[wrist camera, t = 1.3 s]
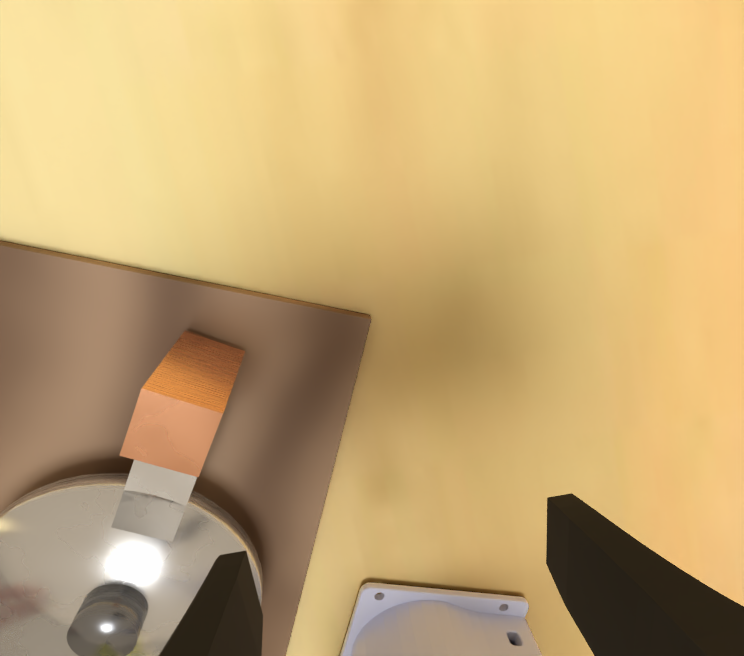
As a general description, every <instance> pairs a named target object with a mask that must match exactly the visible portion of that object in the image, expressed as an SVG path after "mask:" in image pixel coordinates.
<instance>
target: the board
mask: <svg viewBox="0 0 744 656" xmlns="http://www.w3.org/2000/svg"><path fill="white" fill-rule="evenodd" d="M370 323H371V317H370V315H367V314H363V313H358V312H353V311H348V310H343V309H338V308H333V307H328V306H323V305H318V304H313V303H308V302H303V301H298V300H293V299H288V298H283V297H278V296H273V295H268V294H263V293H258V292H253V291H248V290H243V289H238V288H233V287H228V286H223V285H218V284H213V283H208V282H203V281H198V280H193V279H188V278H183V277H178V276H174V275H169V274H164V273H159V272H154V271H149V270H144V269H139V268H134V267H129V266H124V265H119V264H114V263H109V262H104V261H99V260H94V259H89V258H84V257H79V256H74V255H69V254H64V253H59V252H54V251H49V250H44V249H39V248H34V247H29V246H24V245H19V244H14V243H9V242H4V241H0V513H1V512H3V511H4V510H5V509H6V508H7V507H8V506H9V505H10V504H12V503H13V502H15V501H16V500H18V499H19V498H21V497H22V496H24V495H25V494H27V493H29V492H31V491H33V490H36V489H38V488H40V487H42V486H44V485H47V484H50V483H53V482H56V481H59V480H62V479H66V478H71V477H76V476H80V475H88V474H98V473H127V474H129V473H130V470H131V467H132V464H133V461H134V459H130V458H126V457H123V456H119V455H120V452H121V449H122V446H123V443H124V440H125V437H126V434H127V431H128V428H129V425H130V422H131V419H132V416H133V413H134V410H135V407H136V403H137V400H138V397H139V394H140V391H141V388H142V387H143V386H144V384H145V383H146V382H147V380H148V379H149V378H150V376H151V375H152V374H153V372H154V371H155V370H156V368H157V367H158V366H159V364H160V363H161V362H162V360H163V359H164V358H165V356H166V355H167V354H168V352H169V351H170V350H171V348H172V347H173V346H174V344H175V343H176V342H177V340H178V339H179V338H180V336H181V335H182V334H183V332H184V331H185V330H186V331H189V332H191V333H194V334H197V335H200V336H203V337H206V338H209V339H212V340H215V341H217V342H220V343H223V344H226V345H229V346H232V347H235V348H238V349H241V350H243V351H245V353H244V356H243V359H242V362H241V365H240V367H239V370H238V373H237V376H236V379H235V382H234V384H233V387H232V390H231V393H230V396H229V398H228V401H227V404H226V407H225V410H224V413H223V415H222V418H221V420H220V423H219V426H218V428H217V431H216V433H215V436H214V439H213V441H212V444H211V446H210V449H209V451H208V454H207V457H206V459H205V462H204V464H203V467H202V470H201V472H200V475H199V477H197V479H196V482H195V484H194V487H193V491H195V492H197V493H200V494H201V495H203V496H205V497H206V498H208V499H210V500H211V501H213V502H215V503H216V504H217V505H219V506H220V507H221V508H222V509H224V510H225V511H226V512H228V513H229V514H230V515H231V516H232V517H233V518H234V519H235V520H236V521H237V522H238V523H239V524H240V525H241V527H242V528H243V529H244V531H245V532H246V534H247V535H248V536H249V538H250V539H251V541H252V543H253V545H254V547H255V549H256V551H257V554H258V557H259V560H260V563H261V568H262V574H263V592H262V601H261V609H262V613H263V634H262V656H286V652H287V648H288V644H289V640H290V636H291V632H292V628H293V624H294V620H295V616H296V613H297V609H298V605H299V601H300V597H301V593H302V589H303V585H304V581H305V577H306V573H307V569H308V566H309V562H310V558H311V554H312V550H313V546H314V542H315V538H316V534H317V530H318V526H319V522H320V519H321V515H322V511H323V507H324V503H325V499H326V495H327V491H328V487H329V483H330V479H331V475H332V472H333V468H334V464H335V460H336V456H337V452H338V448H339V444H340V440H341V436H342V432H343V428H344V425H345V421H346V417H347V413H348V409H349V405H350V401H351V397H352V393H353V389H354V385H355V381H356V378H357V374H358V370H359V366H360V362H361V358H362V354H363V350H364V346H365V342H366V338H367V334H368V331H369V327H370Z"/></svg>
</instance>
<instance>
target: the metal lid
mask: <svg viewBox="0 0 744 656" xmlns="http://www.w3.org/2000/svg"><path fill="white" fill-rule="evenodd" d="M244 353H245V351H243V350H241V349H238V348H235V347H232V346H229V345H226V344H223V343H220V342H217V341H215V340H212V339H209V338H206V337H203V336H200V335H197V334H194V333H191V332H189V331H186V330H185V331H184V332H183V334H182V335H181V336H180V338H179V339H178V340H177V342H176V343H175V344H174V346H173V347H172V348H171V350H170V351H169V352H168V354H167V355H166V356H165V358H164V359H163V360H162V362H161V363H160V364H159V366H158V367H157V368H156V370H155V371H154V372H153V374H152V375H151V376H150V378H149V379H148V380H147V382H146V383H145V384H144V386H143V387H142V388H141V391H140V394H139V397H138V400H137V403H136V407H135V410H134V413H133V416H132V419H131V422H130V425H129V428H128V431H127V434H126V437H125V440H124V443H123V446H122V449H121V452H120V455H119V456H123V457H126V458H130V459H134V461H133V464H132V467H131V470H130V473H129V474H127V473H98V474H88V475H80V476H76V477H71V478H66V479H62V480H59V481H56V482H53V483H50V484H47V485H44V486H42V487H40V488H38V489H36V490H33V491H31V492H29V493H27V494H25V495H24V496H22V497H21V498H19V499H18V500H16V501H15V502H13V503H12V504H10V505H9V506H8V507H7V508H6V509H5V510H4V511H3V512H1V513H0V656H159V654H160V652H161V651H162V649H163V648H164V646H165V645H166V643H167V642H168V640H169V638H170V637H171V635H172V634H173V632H174V630H175V629H176V627H177V625H178V624H179V622H180V621H181V619H182V617H183V616H184V614H185V613H186V611H187V609H188V607H189V606H190V604H191V602H192V601H193V599H194V597H195V596H196V594H197V592H198V590H199V589H200V587H201V585H202V583H203V582H204V580H205V578H206V576H207V575H208V573H209V571H210V569H211V567H212V566H213V564H214V562H215V560H216V559H217V558H218V556H219V555H223V554H229V553H234V552H240V551H247V555H248V559H249V563H250V567H251V571H252V575H253V578H254V582H255V586H256V590H257V594H258V598H259V602H260V605H261V601H262V592H263V574H262V568H261V563H260V560H259V557H258V554H257V551H256V549H255V547H254V545H253V543H252V541H251V539H250V538H249V536H248V535H247V534H246V532H245V531H244V529H243V528H242V527H241V525H240V524H239V523H238V522H237V521H236V520H235V519H234V518H233V517H232V516H231V515H230V514H229V513H228V512H226V511H225V510H224V509H222V508H221V507H220V506H219V505H217V504H216V503H215V502H213V501H211V500H210V499H208V498H206V497H205V496H203V495H201V494H200V493H197V492H195V491H193V487H194V484H195V482H196V479H197V477H199V475H200V472H201V470H202V467H203V464H204V462H205V459H206V457H207V454H208V451H209V449H210V446H211V444H212V441H213V439H214V436H215V433H216V431H217V428H218V426H219V423H220V420H221V418H222V415H223V413H224V410H225V407H226V404H227V401H228V398H229V396H230V393H231V390H232V387H233V384H234V382H235V379H236V376H237V373H238V370H239V367H240V365H241V362H242V359H243V356H244Z"/></svg>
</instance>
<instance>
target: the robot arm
mask: <svg viewBox="0 0 744 656" xmlns="http://www.w3.org/2000/svg"><path fill="white" fill-rule="evenodd" d="M546 564H547V566H548V568H549V570H550V573H551V575H552V577H553V579H554V582H555V584H556V586H557V588H558V591H559V593H560V595H561V597H562V599H563V601H564V603H565V606H566V607H567V609H568V611H569V613H570V614H571V616H572V618H573V620H574V621H575V623H576V625H577V626H578V628H579V630H580V632H581V633H582V635H583V637H584V638H585V640H586V642H587V643H588V645H589V647H590V648H591V650H592V652H593V654H594V655H595V656H744V607H743V606H741V605H740V604H738V603H736V602H734V601H732V600H730V599H729V598H727V597H725V596H724V595H722V594H720V593H718V592H717V591H715V590H713V589H712V588H710V587H708V586H707V585H705V584H703V583H702V582H700V581H699V580H697V579H695V578H694V577H692V576H691V575H689V574H687V573H686V572H684V571H683V570H681V569H679V568H678V567H676V566H675V565H673V564H672V563H670V562H669V561H667V560H666V559H664V558H662V557H661V556H659V555H658V554H657V553H655V552H654V551H652V550H651V549H649V548H648V547H646V546H645V545H643V544H642V543H640V542H639V541H637V540H636V539H635V538H633V537H632V536H630V535H629V534H628V533H626V532H625V531H623V530H622V529H621V528H619V527H618V526H616V525H615V524H614V523H612V522H611V521H609V520H608V519H607V518H605V517H604V516H602V515H601V514H600V513H598V512H597V511H596V510H594V509H593V508H591V507H590V506H589V505H587V504H586V503H585V502H583V501H582V500H580V499H579V498H578V497H576V496H575V495H573V494H566V495H561V496H555V497H549V498H548V499H547V558H546ZM377 593H380V594H377ZM528 609H529V605H528V603H527V601H526V599H525V598H524V597H519V596H508V595H498V594H487V593H477V592H466V591H456V590H445V589H435V588H424V587H414V586H403V585H392V584H382V583H366V584H364V585H363V586H361V588H360V591H359V594H358V597H357V601H356V604H355V607H354V610H353V614H352V617H351V620H350V624H349V627H348V630H347V634H346V637H345V640H344V644H343V647H342V650H341V654H340V656H542V654H541V652H540V650H539V648H538V645H537V643H536V641H535V639H534V637H533V635H532V632H531V630H530V628H529V626H528V624H527V621H526V619H525V616H526V614H527V611H528ZM262 634H263V613H262V609H261V605H260V602H259V598H258V594H257V590H256V586H255V582H254V578H253V575H252V571H251V567H250V563H249V559H248V555H247V551H240V552H234V553H229V554H223V555H219V556H218V558H217V559H216V560H215V562H214V564H213V566H212V567H211V569H210V571H209V573H208V575H207V576H206V578H205V580H204V582H203V583H202V585H201V587H200V589H199V590H198V592H197V594H196V596H195V597H194V599H193V601H192V602H191V604H190V606H189V607H188V609H187V611H186V613H185V614H184V616H183V617H182V619H181V621H180V622H179V624H178V625H177V627H176V629H175V630H174V632H173V634H172V635H171V637H170V638H169V640H168V642H167V643H166V645H165V646H164V648H163V649H162V651H161V652H160V654H159V656H262Z"/></svg>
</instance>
